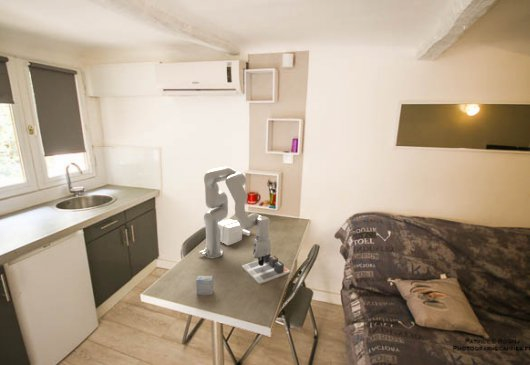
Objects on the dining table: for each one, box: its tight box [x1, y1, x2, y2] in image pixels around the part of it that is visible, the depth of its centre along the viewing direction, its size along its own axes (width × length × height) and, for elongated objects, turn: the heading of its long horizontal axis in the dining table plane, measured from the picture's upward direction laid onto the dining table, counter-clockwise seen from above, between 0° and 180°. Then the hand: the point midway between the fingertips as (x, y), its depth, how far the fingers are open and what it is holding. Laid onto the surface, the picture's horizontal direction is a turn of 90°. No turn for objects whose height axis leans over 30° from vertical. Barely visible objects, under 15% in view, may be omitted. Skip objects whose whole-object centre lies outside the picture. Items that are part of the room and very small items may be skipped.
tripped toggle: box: [269, 255, 279, 267], centre depth 156 cm, size 4×4×5 cm
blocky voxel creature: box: [218, 218, 251, 246], centre depth 194 cm, size 15×25×28 cm
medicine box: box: [195, 275, 214, 296], centre depth 131 cm, size 8×4×9 cm, turn 92°
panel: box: [241, 253, 291, 285], centre depth 153 cm, size 22×20×6 cm
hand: (260, 264), depth 152 cm, fingers closed
